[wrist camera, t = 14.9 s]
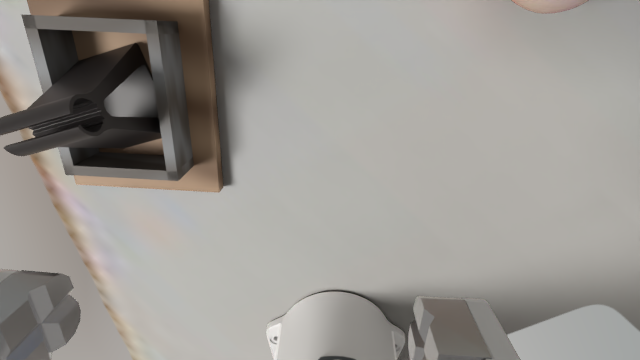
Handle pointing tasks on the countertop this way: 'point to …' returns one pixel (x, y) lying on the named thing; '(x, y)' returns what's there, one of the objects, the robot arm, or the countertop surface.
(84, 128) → the phone stand
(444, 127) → the countertop surface
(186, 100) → the socket board
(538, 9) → the decorative fruit
